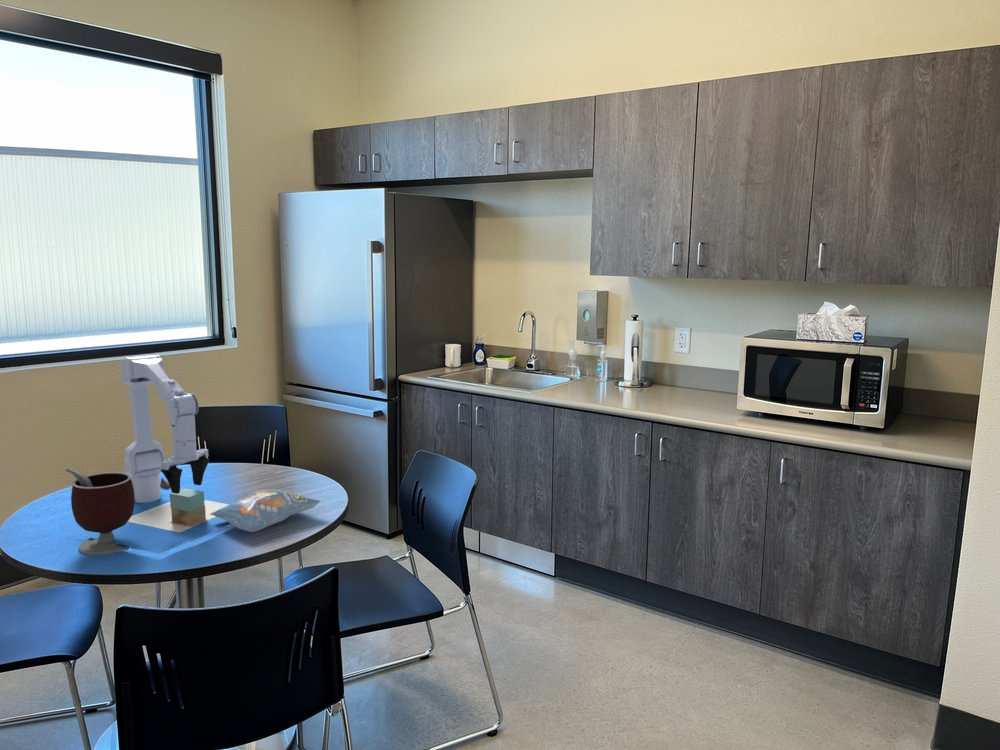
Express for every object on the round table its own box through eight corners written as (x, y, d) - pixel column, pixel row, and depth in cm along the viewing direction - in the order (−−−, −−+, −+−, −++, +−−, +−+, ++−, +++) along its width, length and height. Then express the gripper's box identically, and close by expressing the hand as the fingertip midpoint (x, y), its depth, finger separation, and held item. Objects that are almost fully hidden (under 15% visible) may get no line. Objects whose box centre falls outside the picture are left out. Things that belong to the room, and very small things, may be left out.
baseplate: (121, 524, 197) (120, 519, 197) (184, 500, 217) (183, 495, 217) (179, 536, 190) (179, 532, 189) (239, 510, 210) (239, 506, 209)
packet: (321, 517, 205) (320, 488, 204) (247, 542, 187) (246, 510, 185) (283, 504, 216) (282, 476, 214) (210, 527, 197) (208, 496, 196)
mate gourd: (147, 534, 190) (142, 461, 187) (121, 556, 177) (115, 477, 174) (87, 534, 190) (81, 460, 187) (56, 556, 176) (49, 476, 173)
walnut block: (171, 522, 196) (171, 507, 196) (186, 516, 201) (185, 502, 200) (191, 526, 194) (191, 511, 193) (205, 519, 198) (205, 505, 198)
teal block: (170, 507, 196) (169, 493, 195) (184, 502, 200) (184, 488, 200) (190, 511, 193) (189, 497, 192) (204, 505, 198) (203, 491, 197)
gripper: (174, 447, 185) (177, 498, 188) (216, 435, 199) (218, 483, 201) (153, 444, 188) (156, 495, 190) (196, 432, 201) (198, 479, 204)
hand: (186, 488), depth 196 cm, fingers open, 7 cm apart
